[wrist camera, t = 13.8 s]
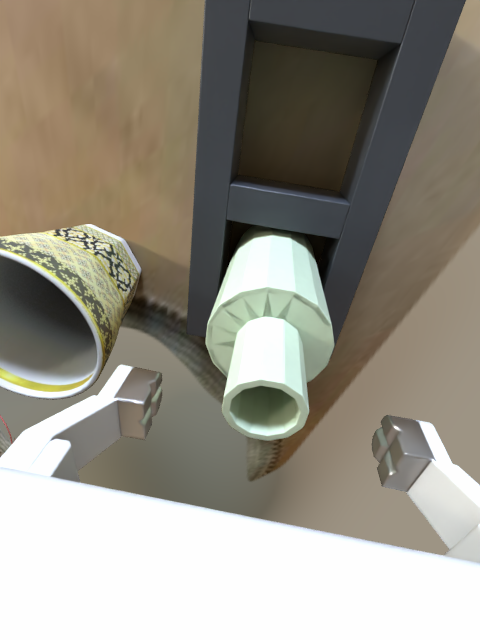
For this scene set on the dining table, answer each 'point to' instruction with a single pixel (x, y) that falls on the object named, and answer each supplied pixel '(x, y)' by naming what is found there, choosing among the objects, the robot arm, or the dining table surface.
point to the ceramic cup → (61, 308)
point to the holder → (367, 152)
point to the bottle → (269, 332)
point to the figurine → (7, 428)
